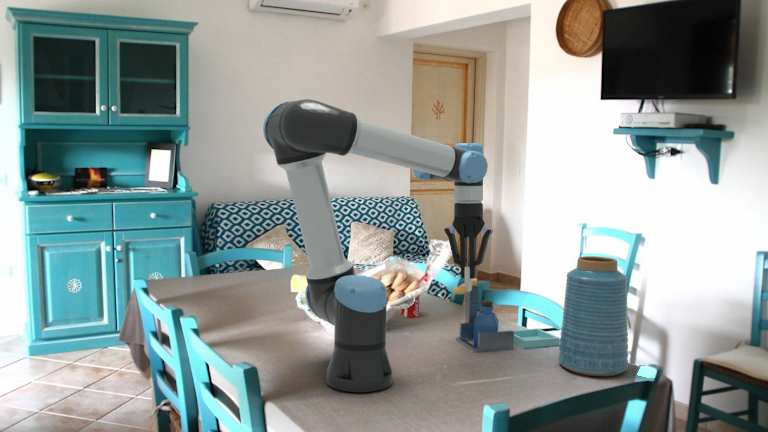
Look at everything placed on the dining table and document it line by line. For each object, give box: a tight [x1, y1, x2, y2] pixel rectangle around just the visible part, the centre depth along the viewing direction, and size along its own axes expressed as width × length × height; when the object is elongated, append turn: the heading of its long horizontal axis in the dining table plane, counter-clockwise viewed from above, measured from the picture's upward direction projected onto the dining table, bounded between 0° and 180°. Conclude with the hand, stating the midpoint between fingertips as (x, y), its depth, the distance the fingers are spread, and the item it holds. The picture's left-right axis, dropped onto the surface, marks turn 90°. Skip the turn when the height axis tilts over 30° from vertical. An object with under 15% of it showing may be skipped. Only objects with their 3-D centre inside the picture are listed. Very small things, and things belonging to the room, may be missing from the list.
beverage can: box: [400, 295, 421, 319], centre depth 216 cm, size 6×6×12 cm
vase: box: [557, 255, 629, 377], centre depth 169 cm, size 16×16×27 cm
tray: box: [512, 328, 561, 350], centre depth 191 cm, size 11×11×2 cm
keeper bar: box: [452, 277, 478, 296], centre depth 189 cm, size 17×3×2 cm, turn 159°
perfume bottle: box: [472, 299, 499, 348], centre depth 188 cm, size 6×6×12 cm
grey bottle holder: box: [455, 284, 514, 353], centre depth 190 cm, size 16×11×15 cm
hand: (468, 290), depth 186 cm, fingers closed
